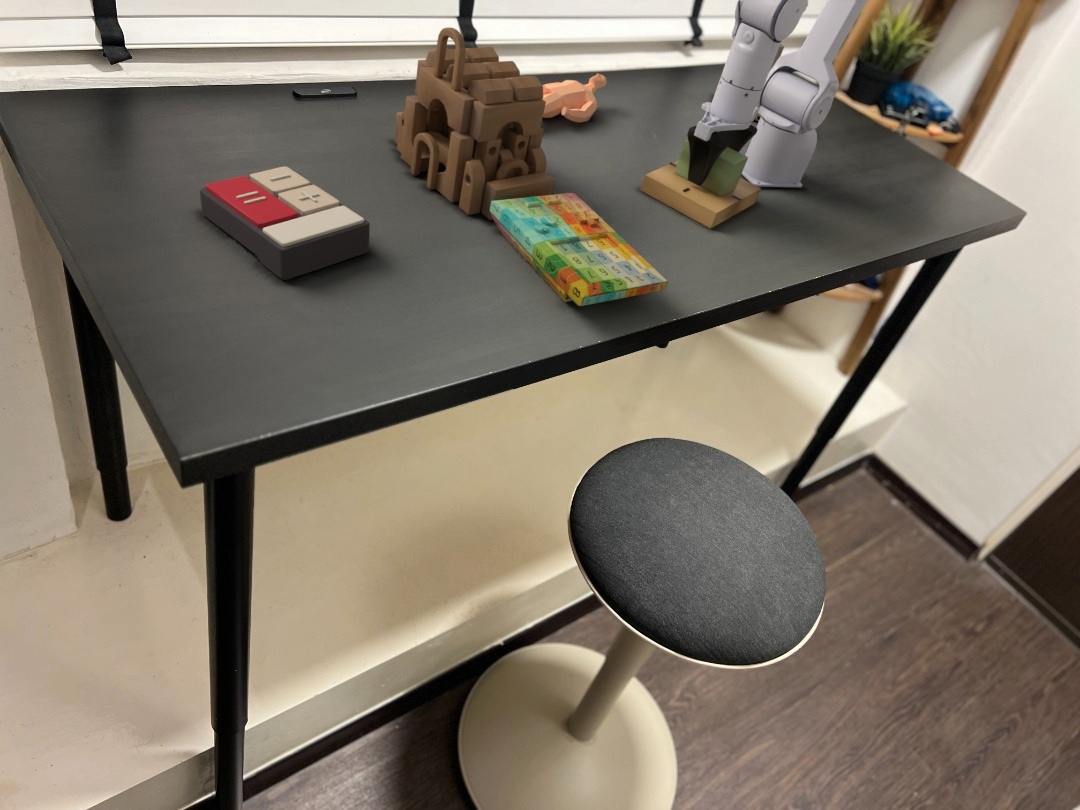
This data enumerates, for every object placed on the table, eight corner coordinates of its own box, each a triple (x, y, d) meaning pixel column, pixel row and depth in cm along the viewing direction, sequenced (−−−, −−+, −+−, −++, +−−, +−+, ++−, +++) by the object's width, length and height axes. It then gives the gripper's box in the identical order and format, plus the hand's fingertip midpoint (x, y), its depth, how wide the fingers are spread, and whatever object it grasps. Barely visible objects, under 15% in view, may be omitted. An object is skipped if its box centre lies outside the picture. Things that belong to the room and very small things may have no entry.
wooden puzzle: (560, 207, 103) (596, 63, 90) (470, 226, 94) (496, 70, 82) (464, 132, 113) (485, -5, 101) (376, 144, 105) (387, -5, 93)
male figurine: (471, 88, 117) (582, 58, 131) (468, 120, 121) (576, 87, 135) (520, 118, 113) (629, 84, 127) (516, 150, 116) (623, 113, 130)
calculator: (287, 161, 89) (371, 216, 83) (288, 196, 92) (370, 252, 85) (196, 181, 82) (281, 243, 75) (201, 218, 85) (283, 281, 78)
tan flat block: (687, 168, 121) (693, 152, 119) (755, 203, 116) (762, 187, 114) (639, 190, 111) (644, 172, 110) (711, 229, 107) (717, 212, 105)
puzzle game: (573, 185, 97) (670, 274, 86) (564, 219, 100) (657, 309, 89) (492, 193, 91) (585, 290, 80) (485, 228, 94) (574, 326, 83)
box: (735, 189, 112) (749, 155, 109) (721, 197, 109) (734, 162, 106) (689, 165, 115) (701, 131, 112) (674, 172, 112) (685, 138, 109)
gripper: (740, 62, 109) (706, 153, 118) (690, 78, 99) (657, 176, 108) (784, 82, 107) (746, 174, 115) (737, 100, 97) (700, 198, 106)
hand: (706, 176), depth 112 cm, fingers open, 6 cm apart
